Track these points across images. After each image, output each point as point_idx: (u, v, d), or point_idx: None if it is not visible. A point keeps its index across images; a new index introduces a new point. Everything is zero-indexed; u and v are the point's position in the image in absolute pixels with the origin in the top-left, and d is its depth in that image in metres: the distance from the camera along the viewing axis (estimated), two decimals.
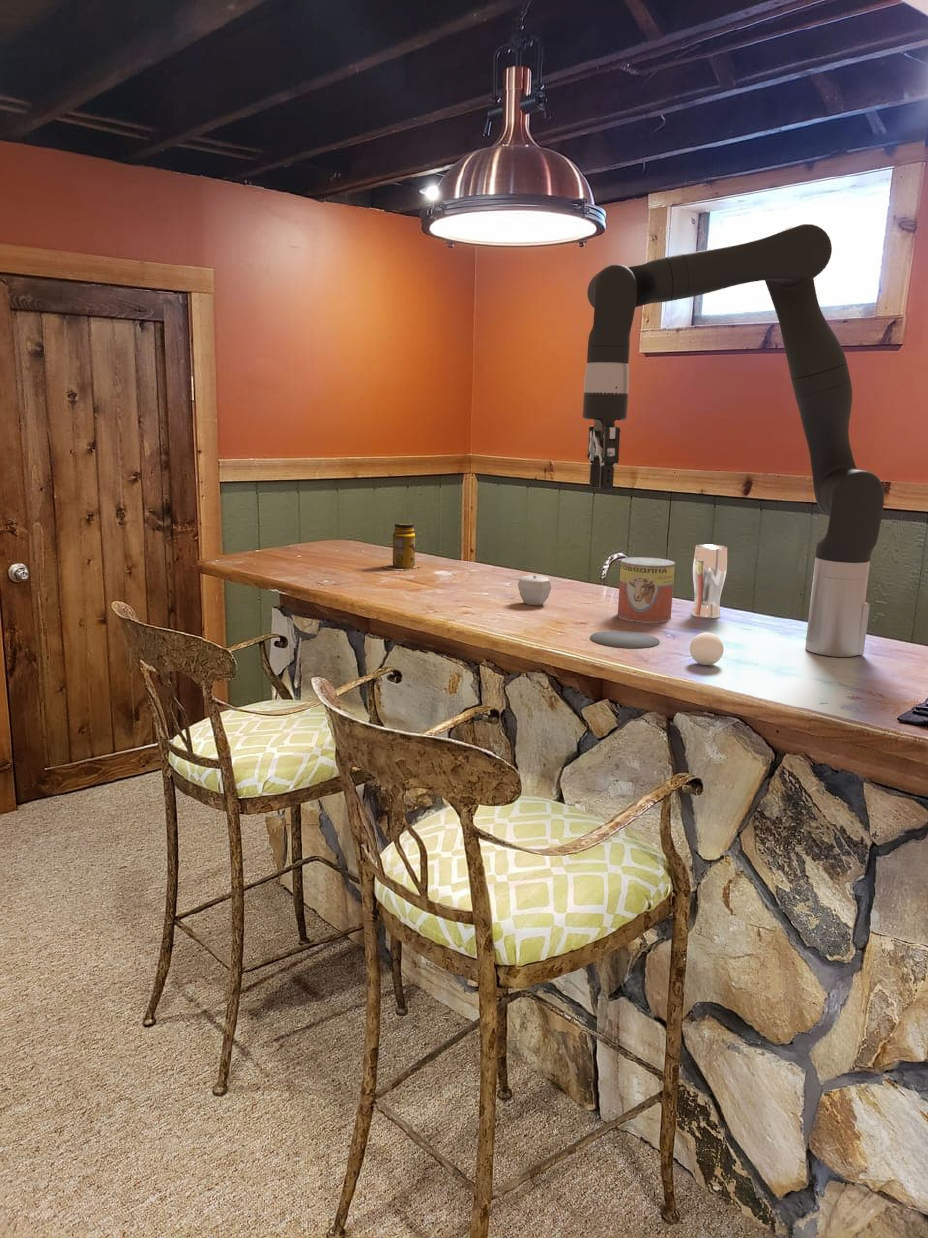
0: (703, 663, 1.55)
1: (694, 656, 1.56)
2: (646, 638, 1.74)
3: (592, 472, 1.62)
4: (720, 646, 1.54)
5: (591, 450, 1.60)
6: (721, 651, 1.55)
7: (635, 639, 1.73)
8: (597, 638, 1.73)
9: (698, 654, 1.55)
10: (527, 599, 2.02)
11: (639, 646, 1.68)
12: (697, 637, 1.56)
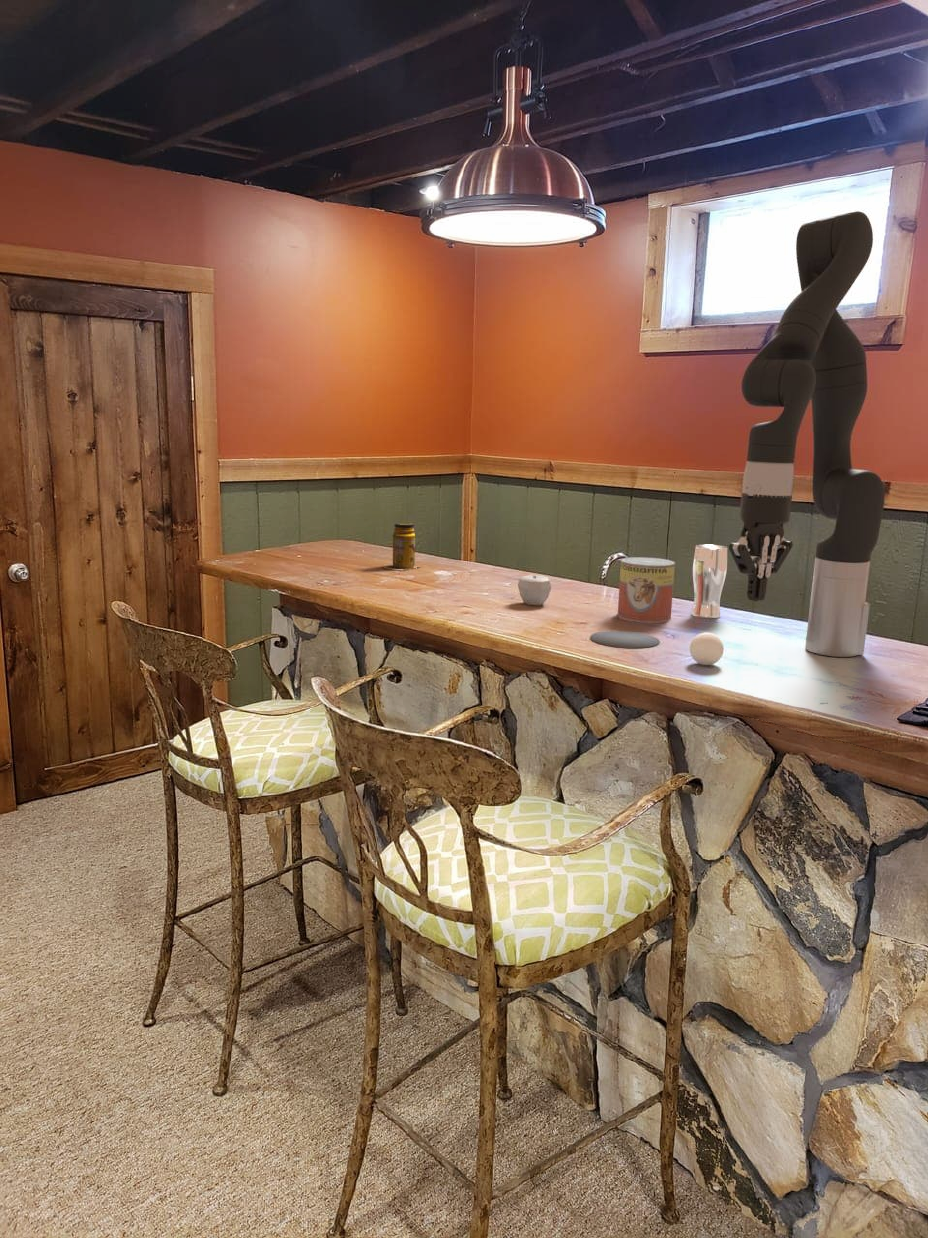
0: (703, 663, 1.55)
1: (694, 656, 1.56)
2: (646, 638, 1.74)
3: None
4: (720, 646, 1.54)
5: None
6: (721, 651, 1.55)
7: (635, 639, 1.73)
8: (597, 638, 1.73)
9: (698, 654, 1.55)
10: (527, 599, 2.02)
11: (639, 646, 1.68)
12: (697, 637, 1.56)
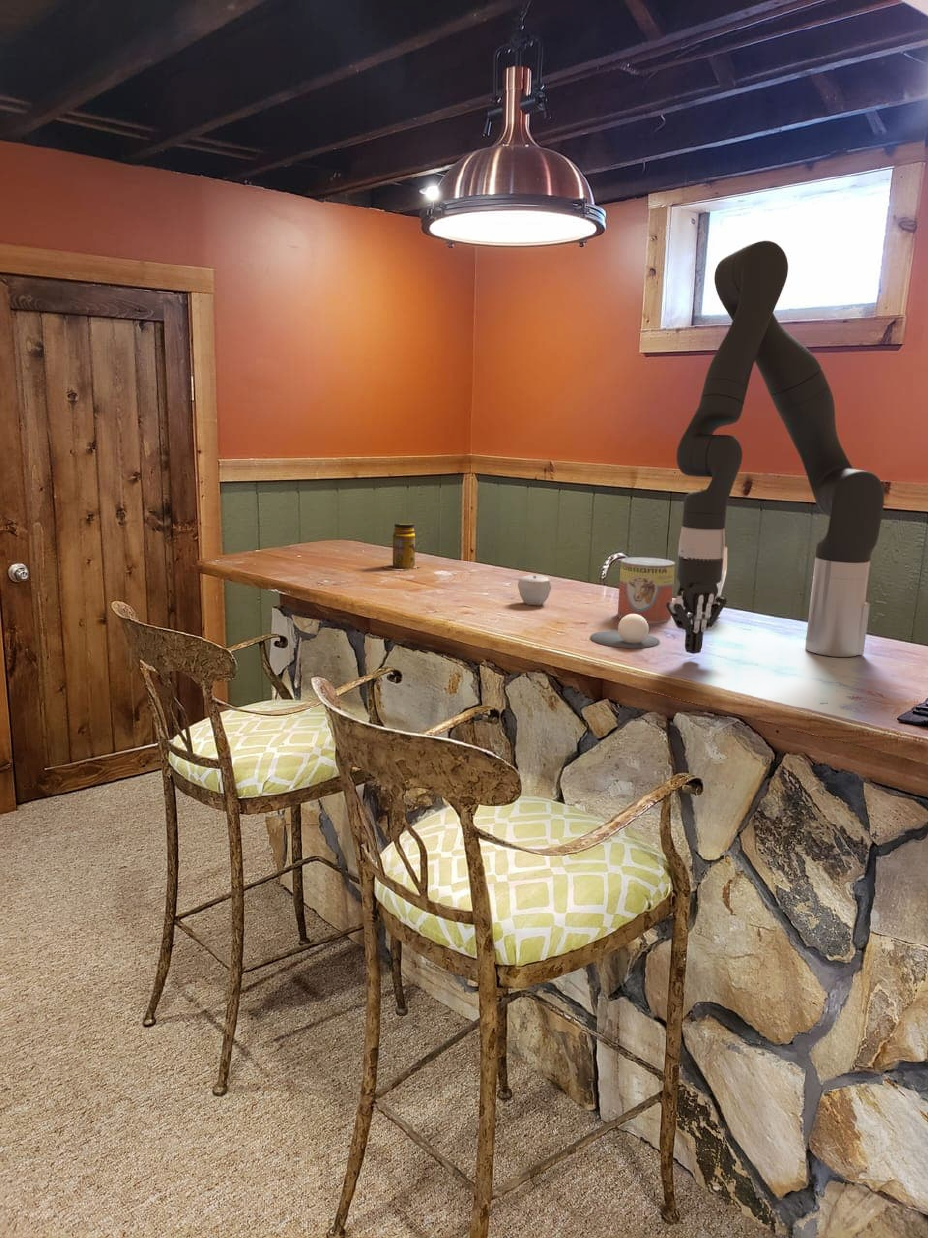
0: None
1: (619, 632, 1.70)
2: (646, 638, 1.74)
3: None
4: (643, 636, 1.68)
5: None
6: (642, 639, 1.69)
7: None
8: (597, 638, 1.73)
9: (622, 634, 1.69)
10: (527, 599, 2.02)
11: (639, 646, 1.68)
12: (628, 619, 1.68)
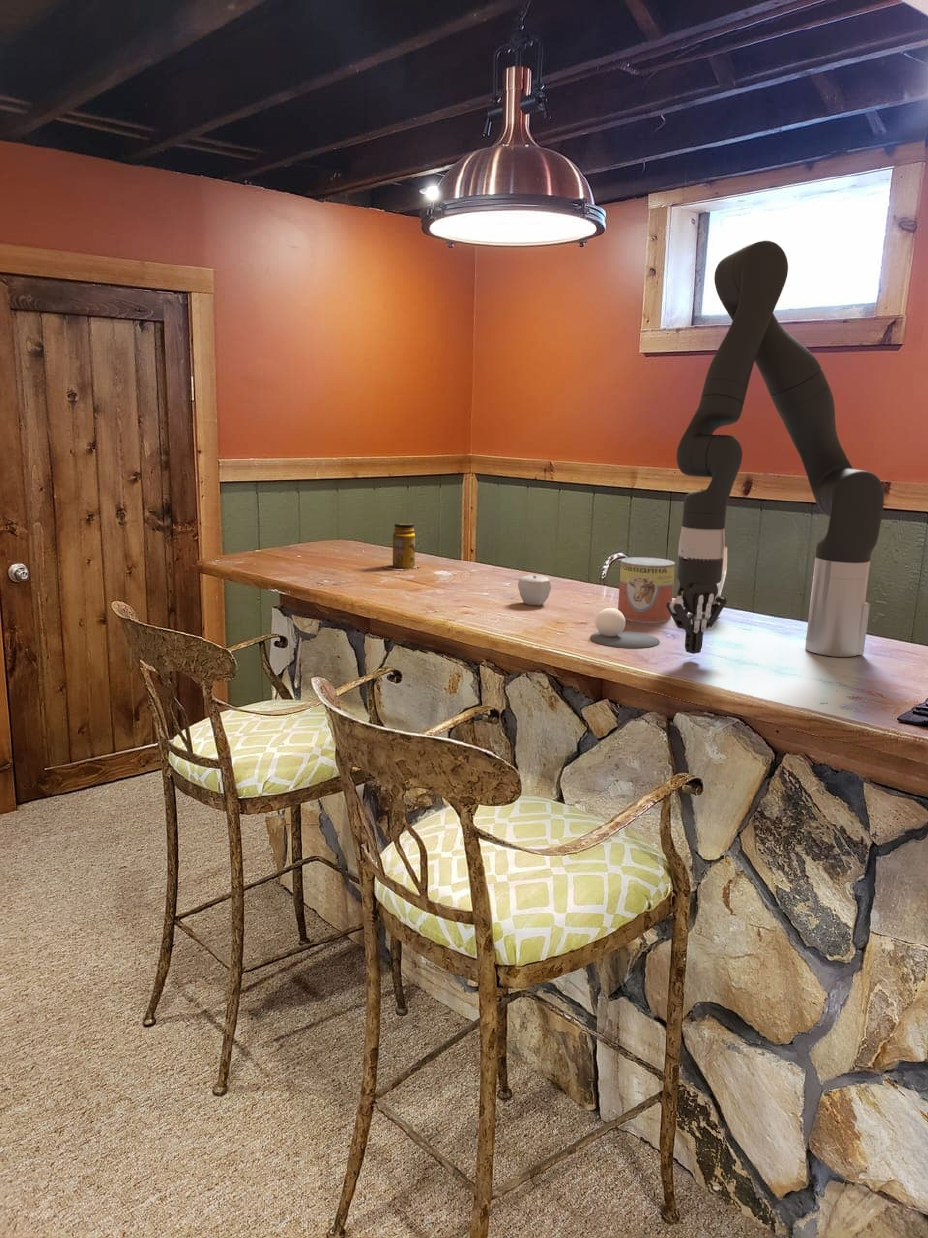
0: (613, 622, 1.72)
1: (605, 628, 1.73)
2: (646, 638, 1.74)
3: None
4: (608, 608, 1.75)
5: None
6: (612, 608, 1.74)
7: (635, 639, 1.73)
8: (597, 638, 1.73)
9: (602, 622, 1.73)
10: (527, 599, 2.02)
11: (639, 646, 1.68)
12: (596, 625, 1.76)
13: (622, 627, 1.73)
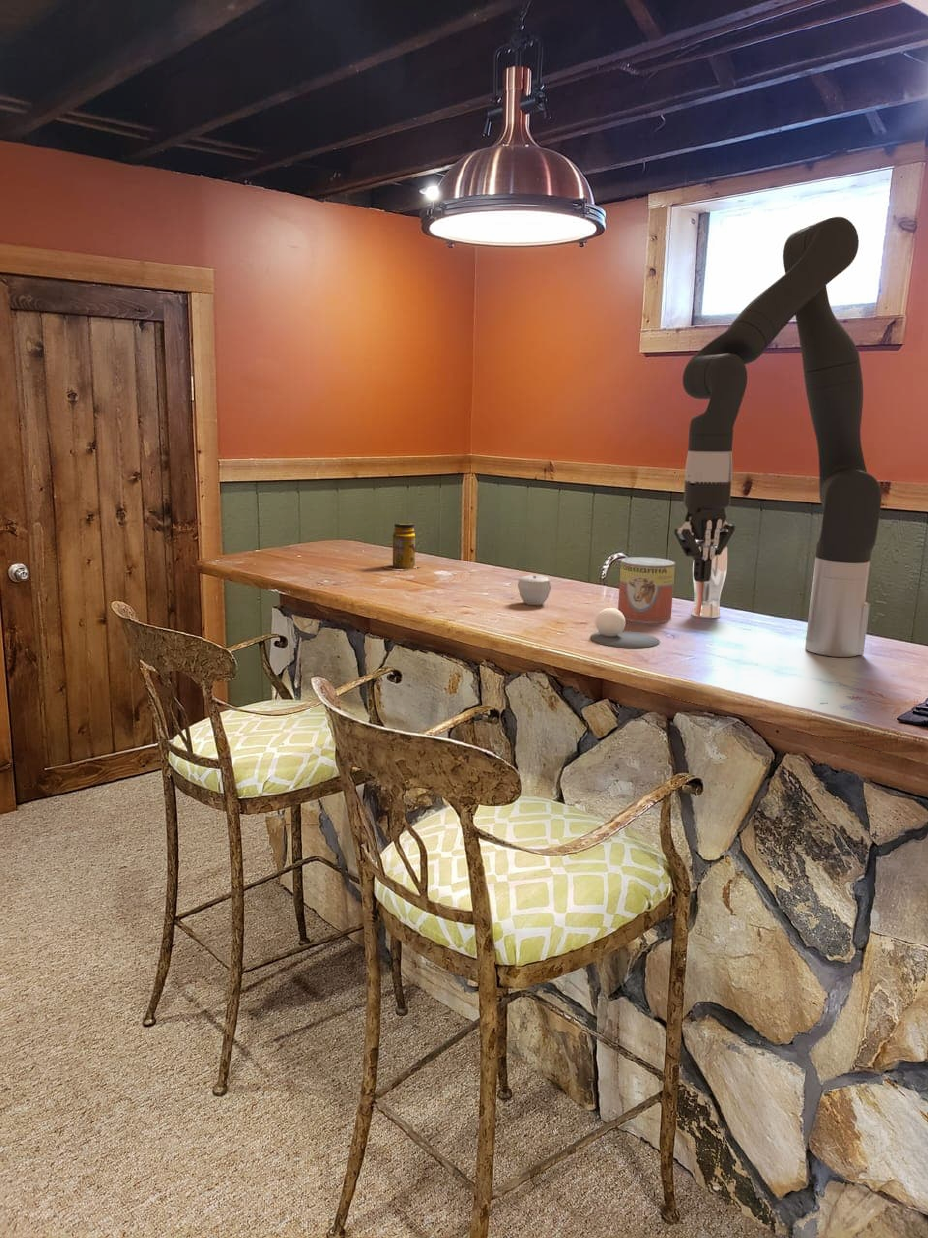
0: (613, 622, 1.72)
1: (605, 628, 1.73)
2: (646, 638, 1.74)
3: None
4: (608, 608, 1.75)
5: None
6: (612, 608, 1.74)
7: (635, 639, 1.73)
8: (597, 638, 1.73)
9: (602, 622, 1.73)
10: (527, 599, 2.02)
11: (639, 646, 1.68)
12: (596, 625, 1.76)
13: (622, 627, 1.73)
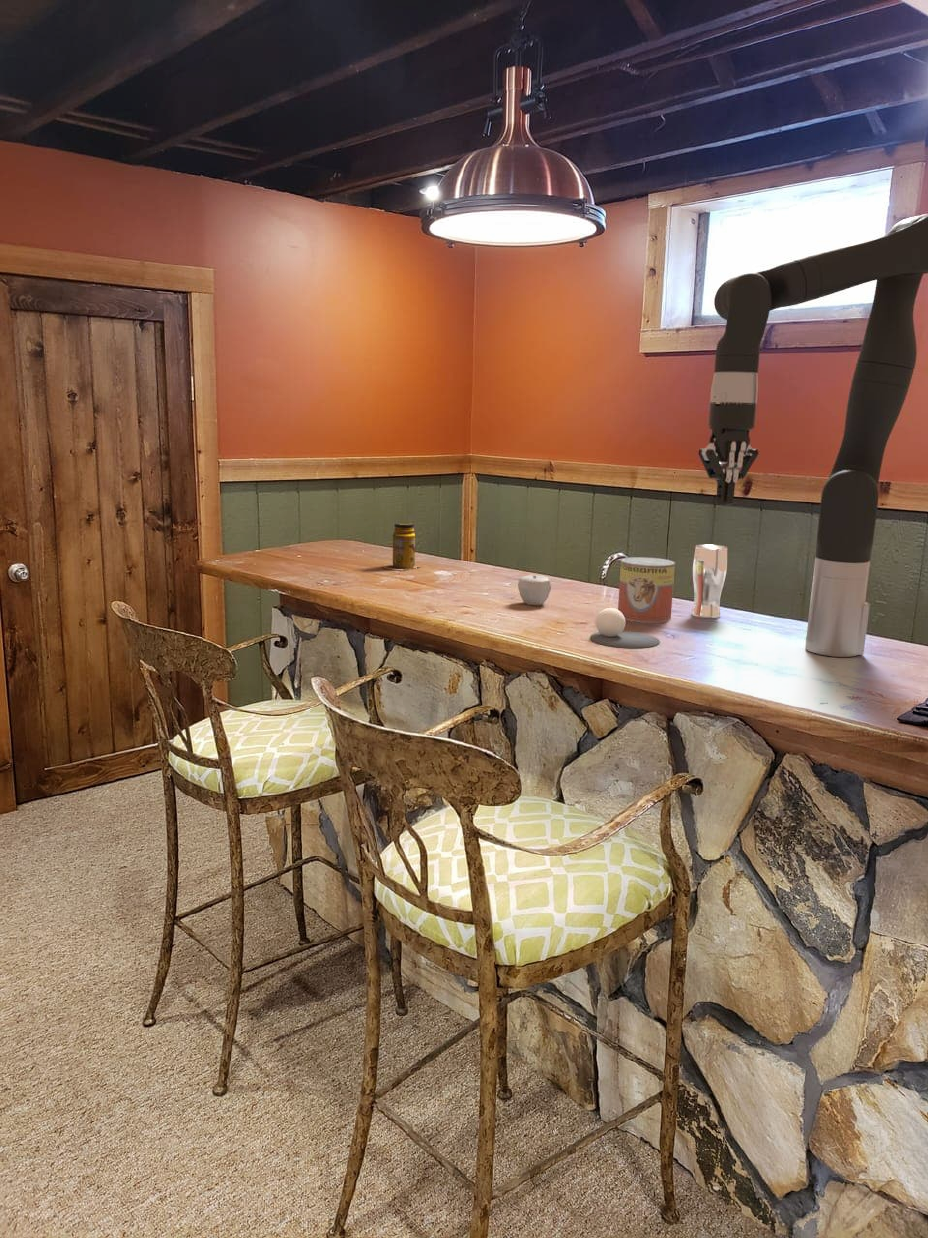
0: (613, 622, 1.72)
1: (605, 628, 1.73)
2: (646, 638, 1.74)
3: None
4: (608, 608, 1.75)
5: None
6: (612, 608, 1.74)
7: (635, 639, 1.73)
8: (597, 638, 1.73)
9: (602, 622, 1.73)
10: (527, 599, 2.02)
11: (639, 646, 1.68)
12: (596, 625, 1.76)
13: (622, 627, 1.73)
